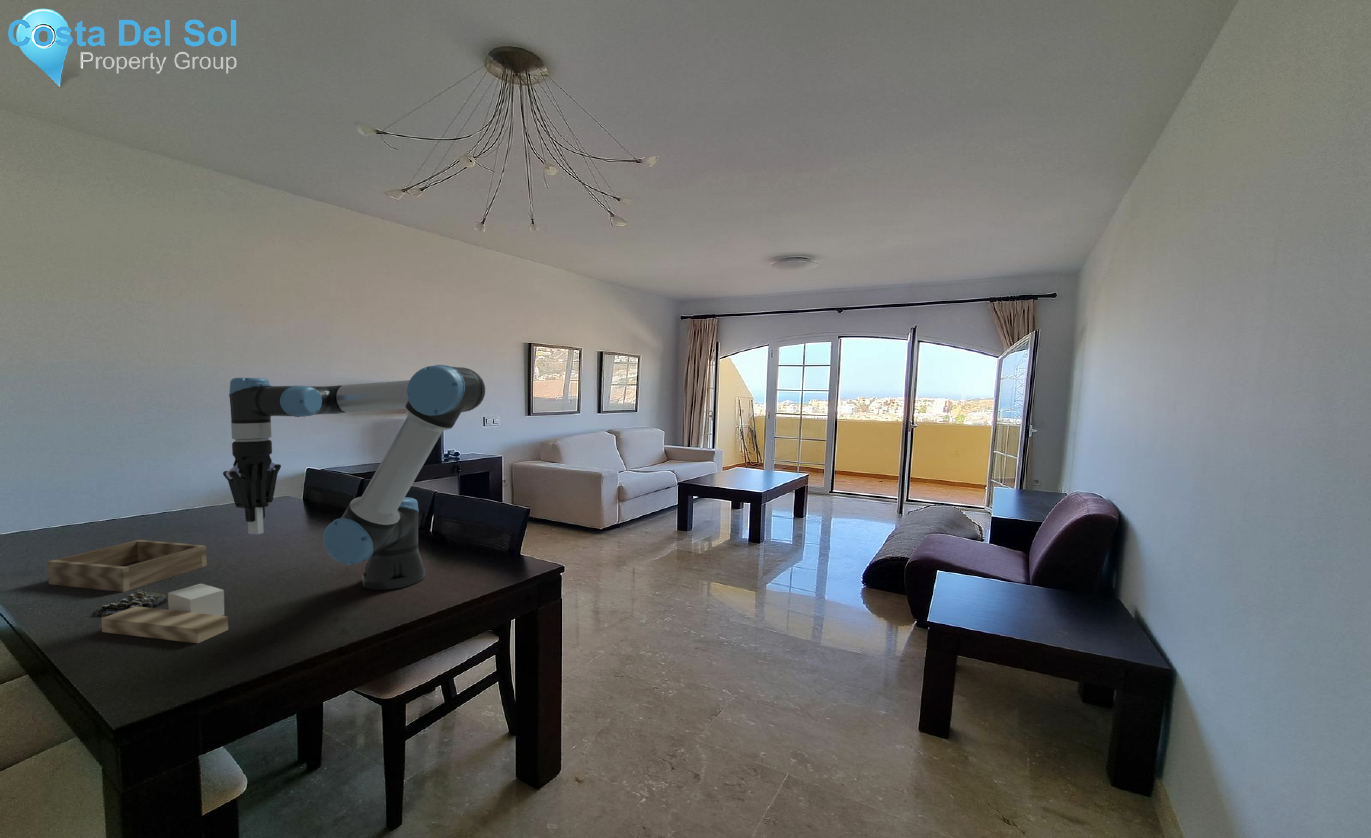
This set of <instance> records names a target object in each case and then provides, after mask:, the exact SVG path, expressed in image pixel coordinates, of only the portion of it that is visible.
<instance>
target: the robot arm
mask: <svg viewBox="0 0 1371 838" xmlns="http://www.w3.org/2000/svg"><path fill="white" fill-rule="evenodd" d="M485 395H486V385H485V382H484V380H483V379H482V377H481V376H480V375H479V374H478V373H477V372H476V371H474V370H472V369H470V368H466V367H461V366H460V367H458V366H450V365H444V364H436V365H429V366H424V367H423V368H420V369H419V370H418V371H416V372H415V373H414V374H413V375H412V376H411V378H410V379H408V380H407V379H406V380H395V381H382V382H367V383H355V384H344V385H341V384H340V385H330V386H329V385H324V386H322V385H321V386H320V385H319V386H317V385H316V386H314V385H313V386H311V385H307V386H306V385H277V386H276V385H275V386H274V385H271V384H270V380H269V379H268V378H265V377H232V378H231V380H230V383H229V393H228V397H229V403H230V405H229V406H230V419H231V420H230V424H231V425H230V426H231V440H235V441H233V442H231V451H232V454H231V455H232V456H233V457H234V461H233V464H232V465H233V467H232V468H230V469H229V470H224V471H223V472H222V475H223V477H225V479H226V480H227V482H228V486H229V489H230V492H231V495H232V498H233V502H234V506H235V507H236V508H239V509H243V510H244V511H245V512H244V513H245V515H244V516H245V522H246V523H247V529H248V532H247V533H248V535H261V534H263V533H265V532H264V519H265V518H266V509H265V508H267V507H268V506H269V505H270V503H272V502H273V501H274V496H275V490H276V484H277V478H278V474H279V472H280V469H281V466H282V465H281V464H280V463H274V462H273V461H272V458H271V456H270V455H272V453H273V444H272V443H273V442H272V440H271V439H270V438H272V421H271V419H272V418H271V417H295V418H300V417H301V418H302V417H304V418H305V417H312V416H316V415H317V416H318V415H339V414H346V413H358V412H359V413H361V412H372V411H373V412H374V411H389V410H401V409H405V410H406V413H407V416H406V418H405V420H404V422H403V423H402V425H401V427H400V429H399V430H398V431H397V434H396V435H395V438H394V439H393V441H392V443H391V444H390V446H389V448H388V450H387V451H386V453H385V455H384V457H383V458H382V460H381V462H380V463H379V465H378V468H377V469H376V471H375V472H374V474H373V476H372V478H371V479H370V481H369V483H368V485H367V486H366V488H365V490H364V492H363V494H362V495H361V496H358V497H356V498H353V499H352V500H351V501H350V503H349V504H348V506H347V508H346V510H345V511H344V513H343V515H342V516H341V517H340V518H336V519H334V520H333V521H331V522H330V523H329V524H328V525H326V527H325V529H324V532H323V534H322V535H323V537H322V541H323V546H324V547H325V551H326V553H327V554H328V556H330V557H331V558H332V559H333V560H334V561H336V562H338V563H340V564H343V565H349V566H350V565H351V566H352V565H356V564H359V563H362V562H366V561H367V562H366V565H365V568H364V571H363V574H362V578H361V579H362V580H361V581H362V583H361V585H362V587H364V588H365V589H369V590H376V591H384V590H385V591H386V590H388V591H389V590H394V589H401V588H405V587H409V586H412V585H415V584H417V583H419V582H421V581H422V580H424V579H425V577H426V567H425V565H424V563H423V559H422V556H421V554H420V552H419V513H420V510H419V503H418V500H417V499H416V498H413V497H406V496H407V494H408V492H409V491H410V489H411V488H412V485H413V484H414V482H415V480H416V478H417V477H418V475H419V473H420V471H421V469H422V468H423V466H425V465H424V464H425V463H426V461H427V459H428V458H429V457H430V454H431V453H432V451H433V449H434V447H435V445H436V444H437V443H438V441H439V438H440V437H441V435H442V433H443V432H444V431H447V430H450V429H453V427H454V426H455V424H456V422H457V421H458V419H459V417H460V415H461V414H462V413H466V412H471V411H472V410H474V409H476V408H477V407H479V405H480V404H481V403H482V402H483V400H484V398H485Z"/></svg>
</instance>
